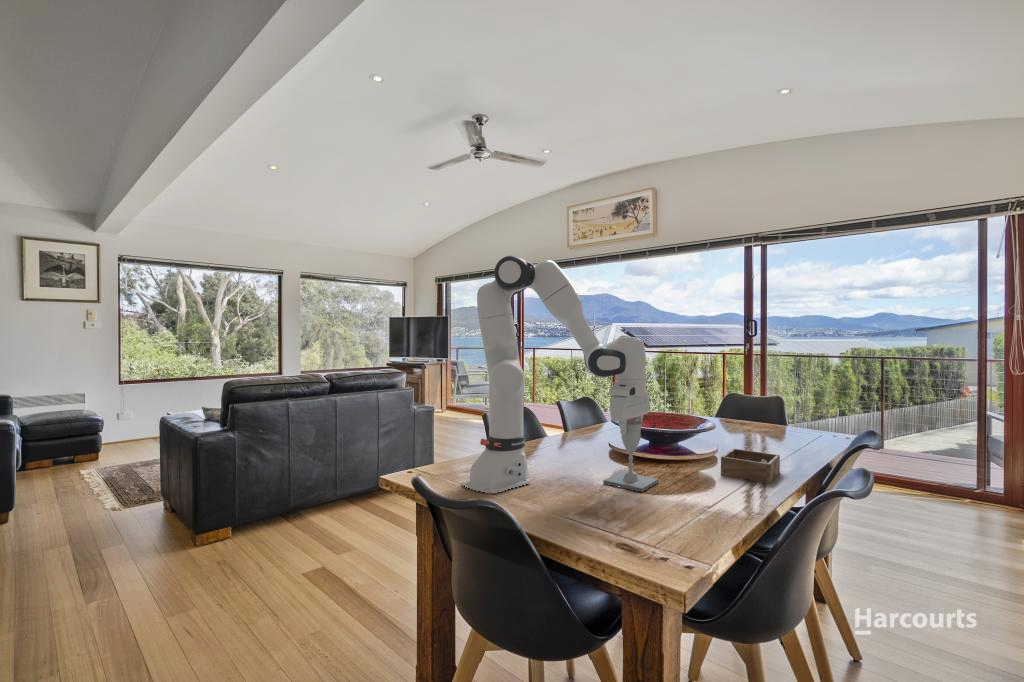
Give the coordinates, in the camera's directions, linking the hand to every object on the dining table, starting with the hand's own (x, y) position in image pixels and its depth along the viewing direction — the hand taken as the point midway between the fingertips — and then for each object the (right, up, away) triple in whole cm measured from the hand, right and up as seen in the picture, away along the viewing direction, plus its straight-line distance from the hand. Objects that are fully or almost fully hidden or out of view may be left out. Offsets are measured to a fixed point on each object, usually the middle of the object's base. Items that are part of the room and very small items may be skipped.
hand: (631, 431), depth 152 cm
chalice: (0, -15, 0) cm, 15 cm away
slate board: (0, -16, 0) cm, 16 cm away
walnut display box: (+42, -16, +10) cm, 46 cm away
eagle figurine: (+43, -16, +7) cm, 47 cm away
